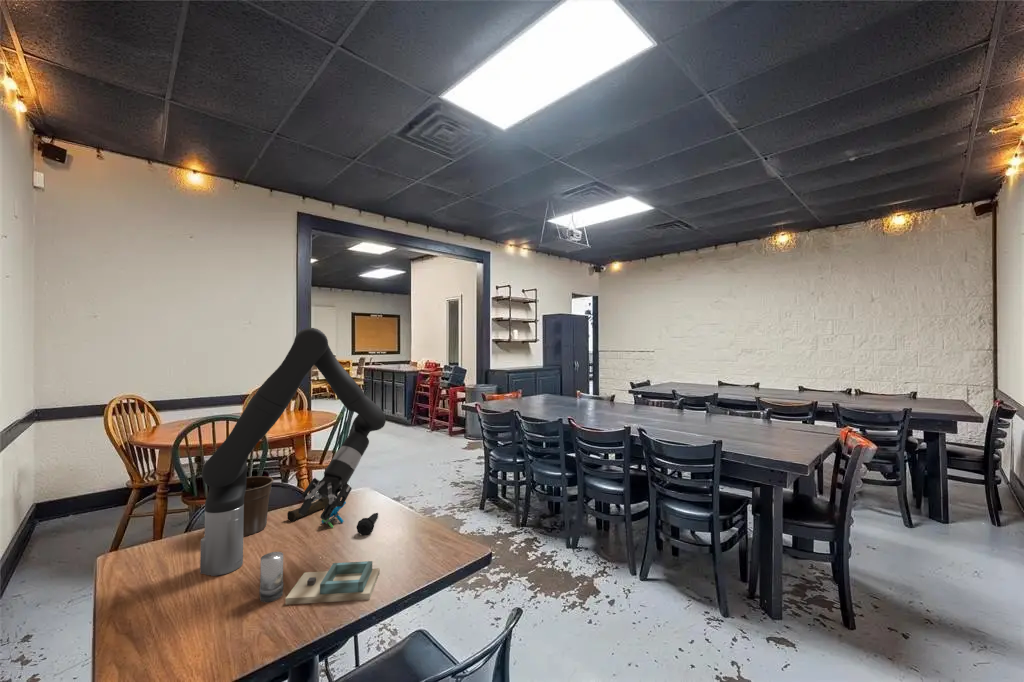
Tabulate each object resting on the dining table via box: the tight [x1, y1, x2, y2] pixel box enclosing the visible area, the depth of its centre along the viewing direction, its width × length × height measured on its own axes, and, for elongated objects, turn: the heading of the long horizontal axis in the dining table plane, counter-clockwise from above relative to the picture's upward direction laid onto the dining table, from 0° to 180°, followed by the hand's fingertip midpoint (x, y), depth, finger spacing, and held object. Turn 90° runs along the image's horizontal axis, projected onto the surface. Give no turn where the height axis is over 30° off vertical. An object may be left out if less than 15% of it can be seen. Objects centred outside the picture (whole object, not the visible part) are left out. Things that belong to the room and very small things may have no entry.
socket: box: [259, 551, 284, 603], centre depth 105 cm, size 5×5×10 cm
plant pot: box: [243, 475, 274, 537], centre depth 144 cm, size 16×16×16 cm
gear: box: [320, 501, 347, 529], centre depth 150 cm, size 11×6×10 cm
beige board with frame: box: [284, 560, 381, 606], centre depth 109 cm, size 20×12×4 cm, turn 96°
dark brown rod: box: [287, 497, 329, 522], centre depth 160 cm, size 19×4×5 cm, turn 151°
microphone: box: [356, 512, 379, 536], centre depth 148 cm, size 6×6×20 cm
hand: (311, 516), depth 116 cm, fingers open, 8 cm apart
